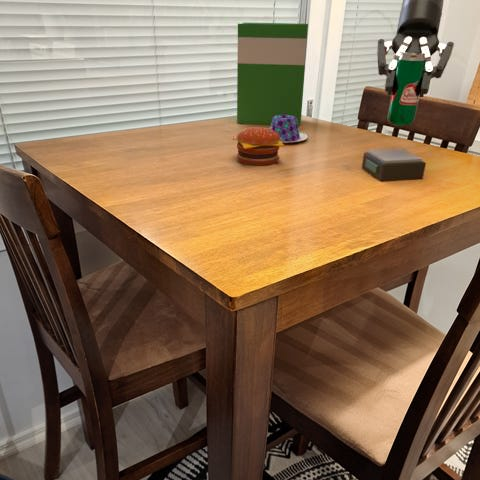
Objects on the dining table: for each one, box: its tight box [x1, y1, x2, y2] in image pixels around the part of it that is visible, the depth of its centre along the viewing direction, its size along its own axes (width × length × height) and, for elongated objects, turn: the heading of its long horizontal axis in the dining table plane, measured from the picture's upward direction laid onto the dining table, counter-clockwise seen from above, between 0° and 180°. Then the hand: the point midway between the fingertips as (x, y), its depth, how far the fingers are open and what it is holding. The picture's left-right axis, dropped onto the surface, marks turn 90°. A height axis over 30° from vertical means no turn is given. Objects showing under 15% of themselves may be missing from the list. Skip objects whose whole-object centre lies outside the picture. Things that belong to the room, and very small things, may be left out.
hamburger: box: [232, 126, 285, 166], centre depth 106 cm, size 9×10×7 cm
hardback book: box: [236, 21, 309, 127], centre depth 134 cm, size 18×7×24 cm, turn 82°
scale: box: [361, 148, 427, 182], centre depth 100 cm, size 9×9×4 cm
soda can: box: [386, 52, 426, 127], centre depth 92 cm, size 5×5×12 cm
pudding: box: [269, 115, 309, 144], centre depth 122 cm, size 12×12×5 cm
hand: (405, 93), depth 91 cm, fingers closed on soda can, 5 cm apart
